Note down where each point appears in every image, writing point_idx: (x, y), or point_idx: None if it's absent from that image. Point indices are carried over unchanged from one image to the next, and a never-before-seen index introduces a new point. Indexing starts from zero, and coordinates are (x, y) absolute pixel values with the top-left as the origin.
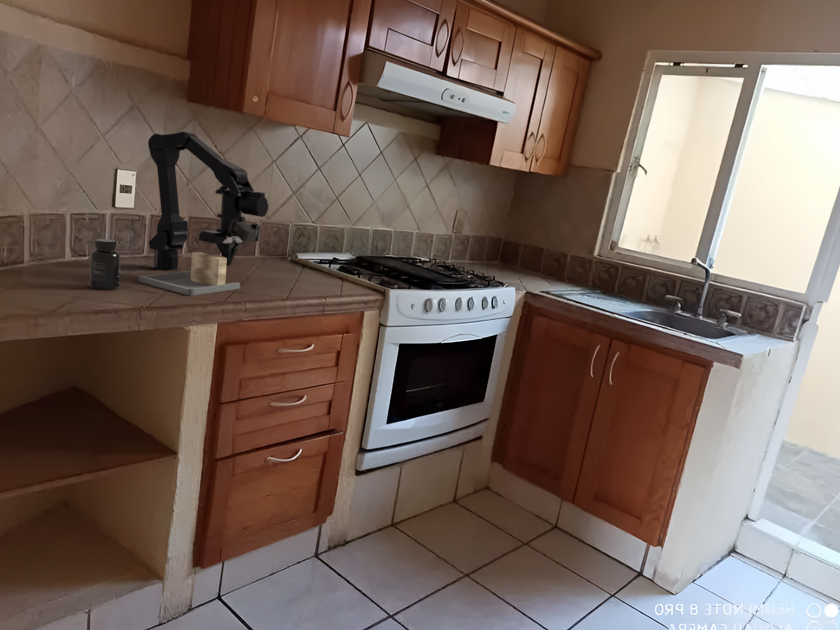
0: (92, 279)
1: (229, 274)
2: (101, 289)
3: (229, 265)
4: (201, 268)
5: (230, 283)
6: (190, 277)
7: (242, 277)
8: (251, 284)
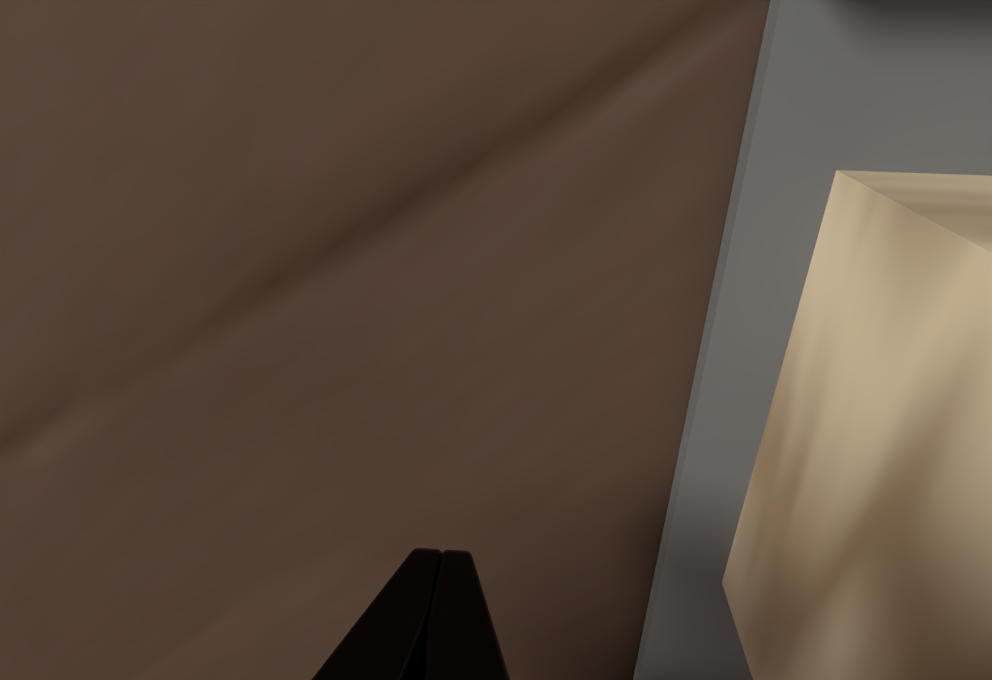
0: None
1: (134, 607)
2: None
3: (437, 550)
4: None
5: None
6: (707, 660)
7: (75, 467)
8: (234, 120)
